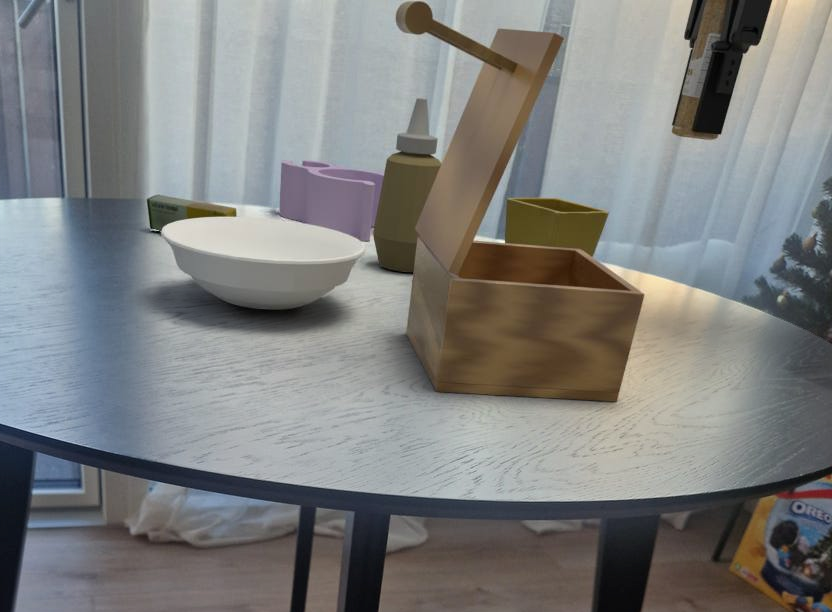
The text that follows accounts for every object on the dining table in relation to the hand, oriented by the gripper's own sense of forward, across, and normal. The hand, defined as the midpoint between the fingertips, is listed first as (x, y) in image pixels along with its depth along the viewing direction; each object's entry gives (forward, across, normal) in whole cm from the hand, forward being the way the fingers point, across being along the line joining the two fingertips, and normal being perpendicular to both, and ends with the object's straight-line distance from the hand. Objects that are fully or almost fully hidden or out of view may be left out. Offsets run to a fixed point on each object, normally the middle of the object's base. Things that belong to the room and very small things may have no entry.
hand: (695, 129), depth 91 cm
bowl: (+19, +4, -42) cm, 46 cm away
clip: (+19, -43, -31) cm, 56 cm away
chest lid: (+2, +19, -25) cm, 31 cm away
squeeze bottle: (+19, -18, -25) cm, 36 cm away
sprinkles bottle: (+1, 0, 0) cm, 1 cm away
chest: (+19, +19, -20) cm, 33 cm away
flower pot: (+19, -15, -8) cm, 26 cm away
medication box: (+19, -25, -50) cm, 60 cm away
